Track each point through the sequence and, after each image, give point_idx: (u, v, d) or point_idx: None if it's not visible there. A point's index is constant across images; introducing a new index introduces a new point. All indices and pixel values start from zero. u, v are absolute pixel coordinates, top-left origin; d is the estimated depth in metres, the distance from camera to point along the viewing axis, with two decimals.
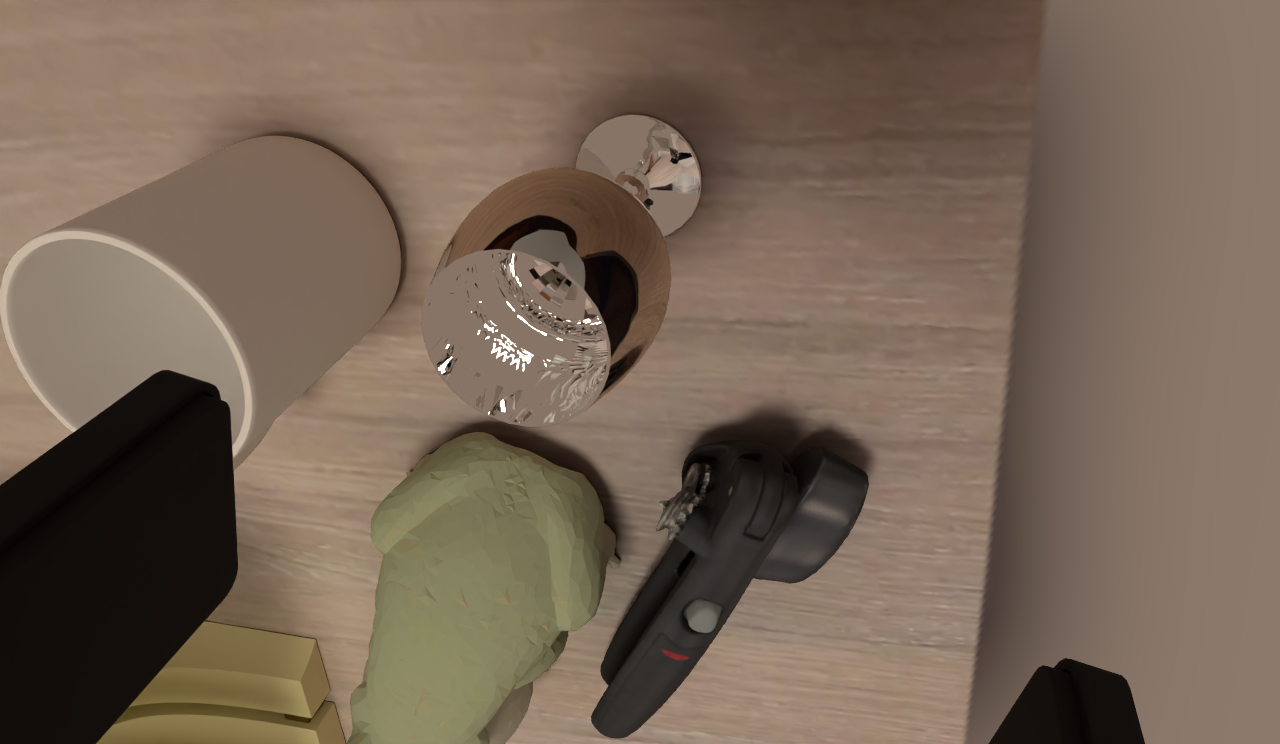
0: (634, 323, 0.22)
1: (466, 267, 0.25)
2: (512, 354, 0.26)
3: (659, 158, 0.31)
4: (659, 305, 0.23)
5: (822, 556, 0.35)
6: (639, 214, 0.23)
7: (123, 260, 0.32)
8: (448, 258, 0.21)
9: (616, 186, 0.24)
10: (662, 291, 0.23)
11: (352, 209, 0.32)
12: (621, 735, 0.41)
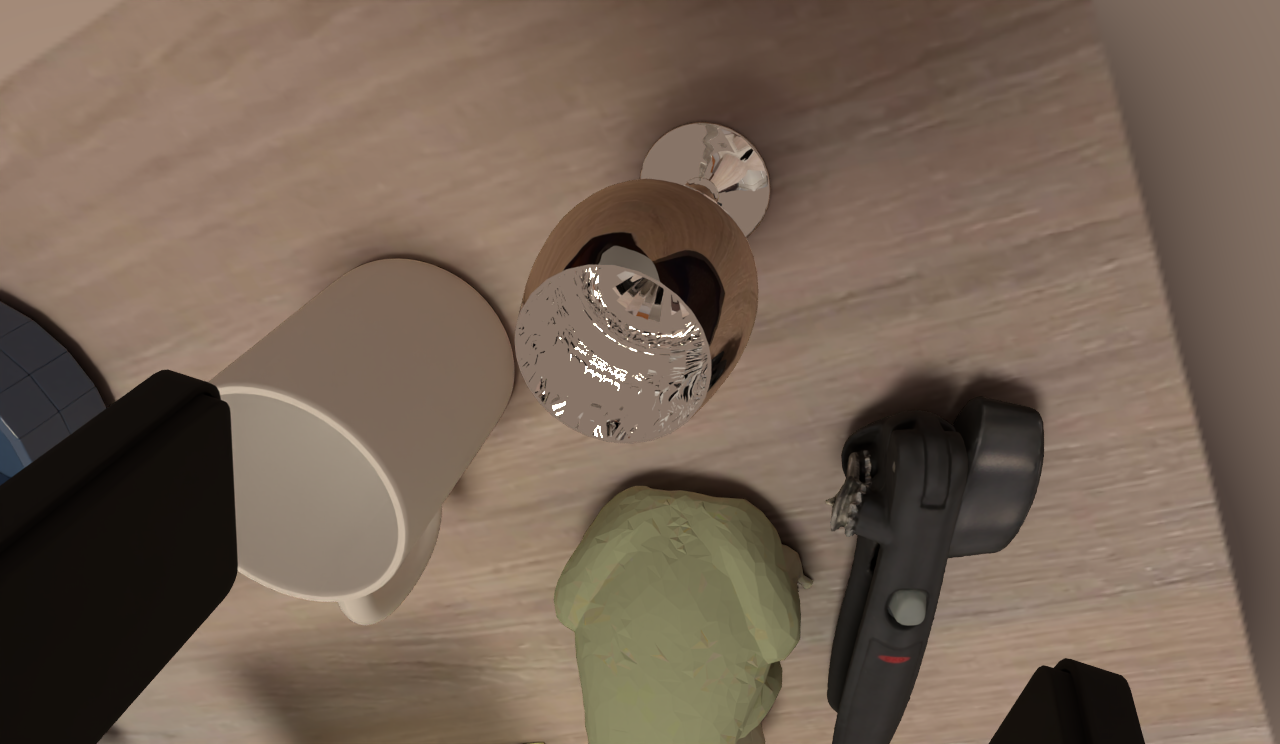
0: (723, 304, 0.21)
1: (555, 312, 0.25)
2: (623, 382, 0.26)
3: (717, 159, 0.30)
4: (746, 282, 0.22)
5: (1018, 512, 0.32)
6: (699, 201, 0.23)
7: (265, 415, 0.34)
8: (525, 297, 0.21)
9: (670, 183, 0.23)
10: (745, 268, 0.23)
11: (449, 305, 0.33)
12: None
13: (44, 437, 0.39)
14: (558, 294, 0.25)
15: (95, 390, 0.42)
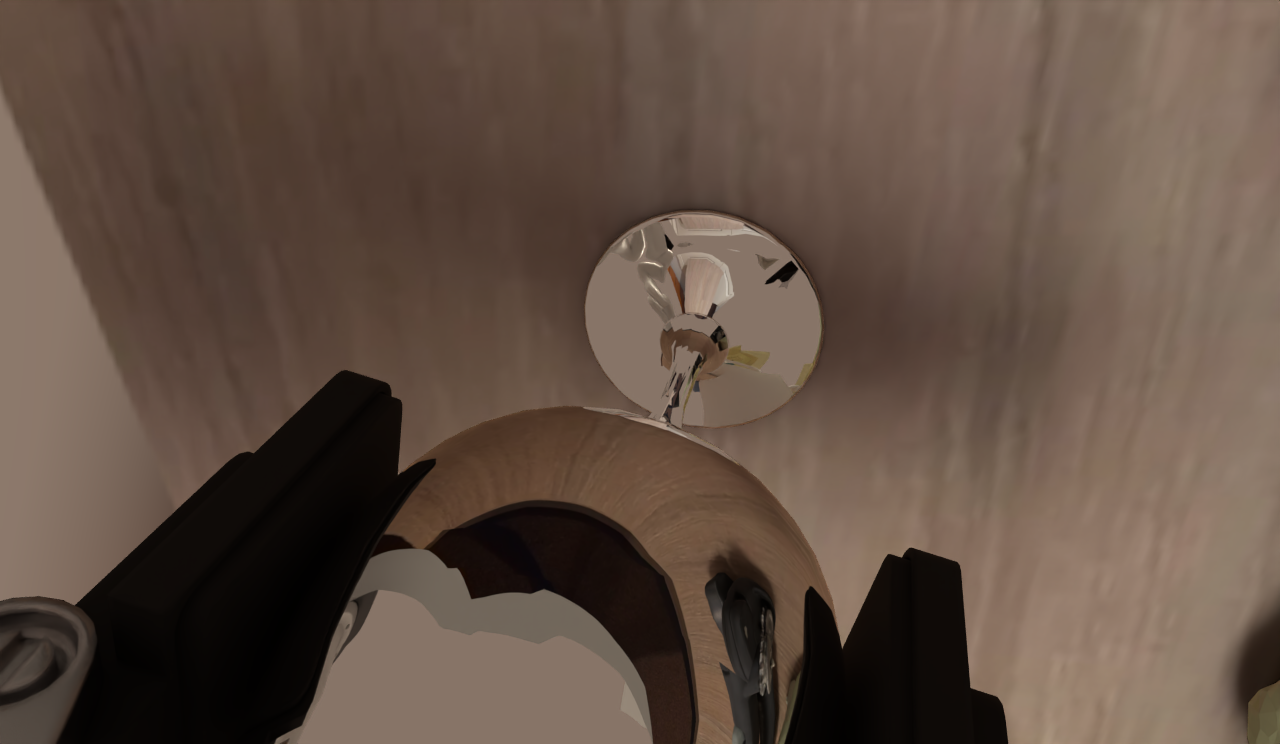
0: (433, 683, 0.07)
1: None
2: None
3: (647, 288, 0.17)
4: (529, 523, 0.08)
5: None
6: (381, 492, 0.09)
7: None
8: None
9: None
10: (517, 495, 0.08)
11: None
12: None
13: None
14: None
15: None
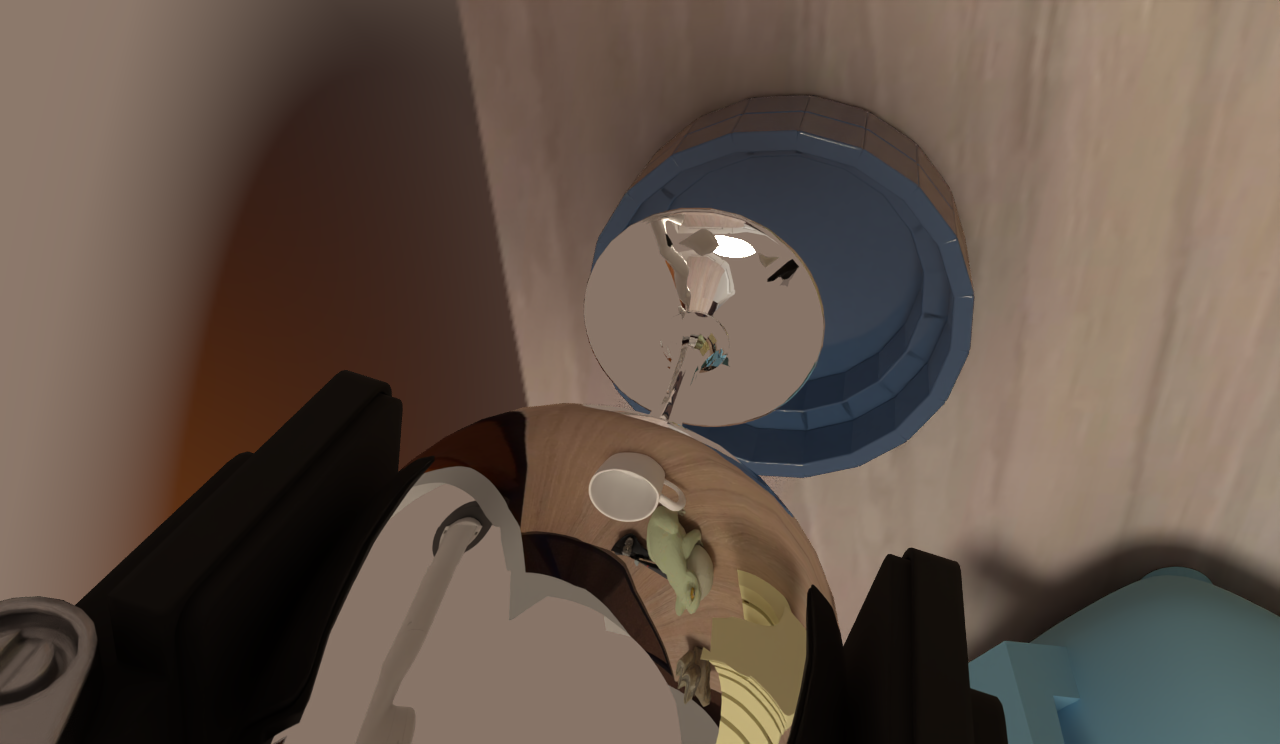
0: (430, 680, 0.07)
1: None
2: None
3: (647, 286, 0.17)
4: (529, 520, 0.08)
5: None
6: (380, 490, 0.09)
7: None
8: None
9: None
10: (517, 492, 0.08)
11: None
12: None
13: (819, 126, 0.27)
14: None
15: (814, 96, 0.30)
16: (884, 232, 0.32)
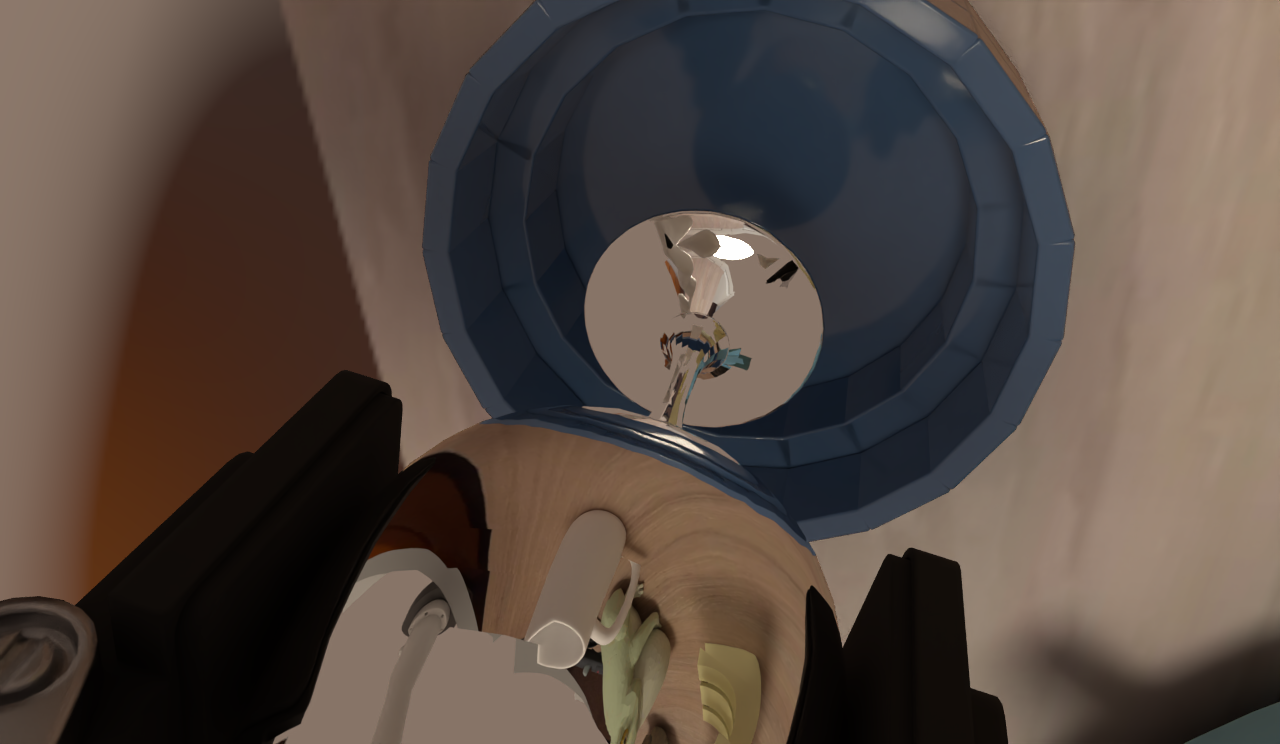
0: (430, 682, 0.07)
1: None
2: None
3: (647, 287, 0.17)
4: (529, 522, 0.08)
5: None
6: (380, 492, 0.09)
7: None
8: None
9: None
10: (517, 494, 0.08)
11: None
12: None
13: None
14: None
15: None
16: (909, 152, 0.20)
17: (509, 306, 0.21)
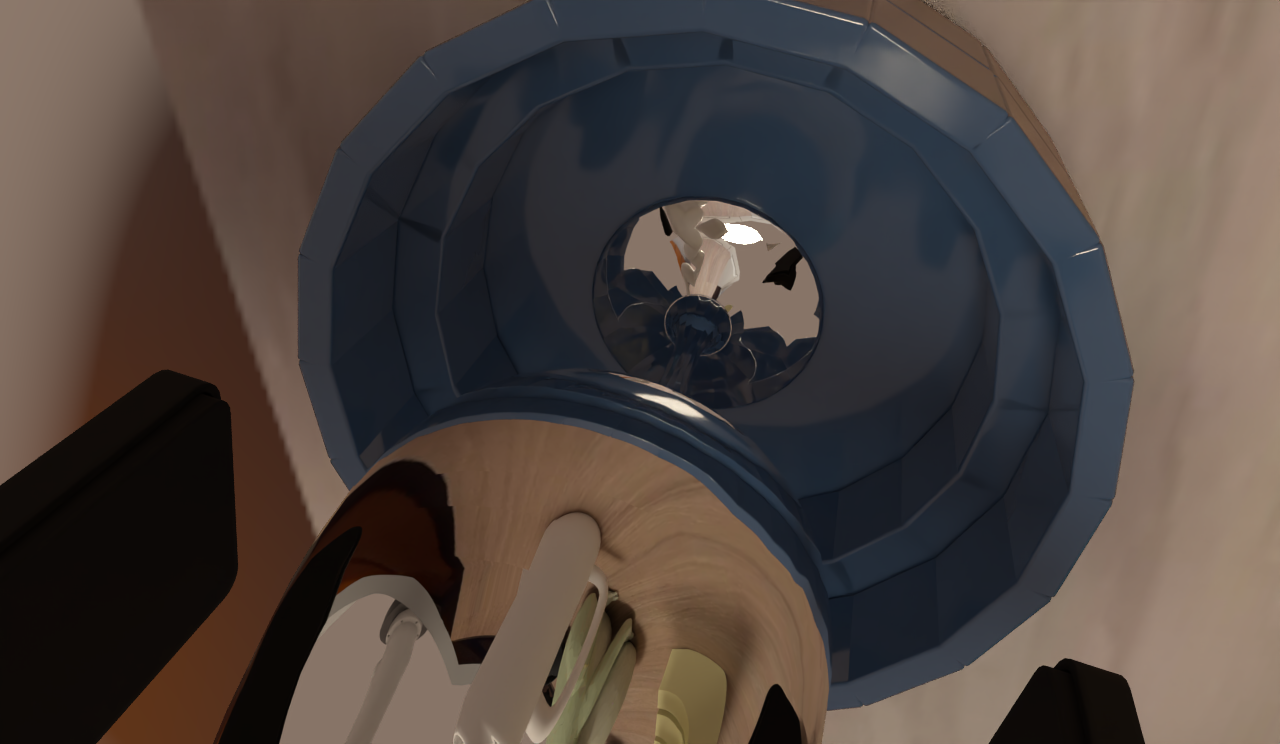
0: (437, 603, 0.07)
1: None
2: None
3: (653, 270, 0.17)
4: (530, 466, 0.08)
5: None
6: (392, 445, 0.10)
7: None
8: None
9: None
10: (520, 442, 0.09)
11: None
12: None
13: None
14: None
15: None
16: (912, 232, 0.16)
17: (423, 414, 0.17)
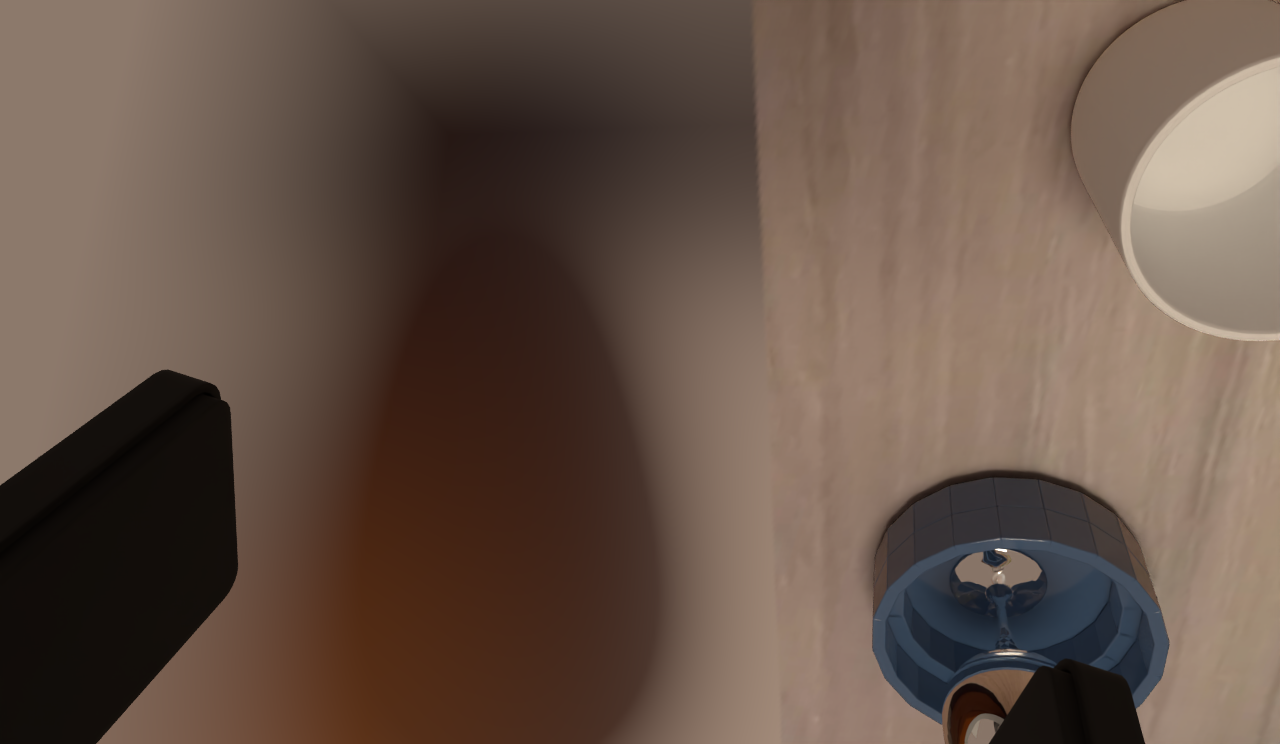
0: None
1: None
2: None
3: (981, 572, 0.45)
4: None
5: None
6: (974, 675, 0.38)
7: (1171, 261, 0.31)
8: None
9: (958, 675, 0.39)
10: (1025, 682, 0.36)
11: (1166, 19, 0.31)
12: None
13: (1061, 529, 0.39)
14: None
15: (1041, 481, 0.42)
16: (1084, 565, 0.44)
17: (889, 624, 0.45)
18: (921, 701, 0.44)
